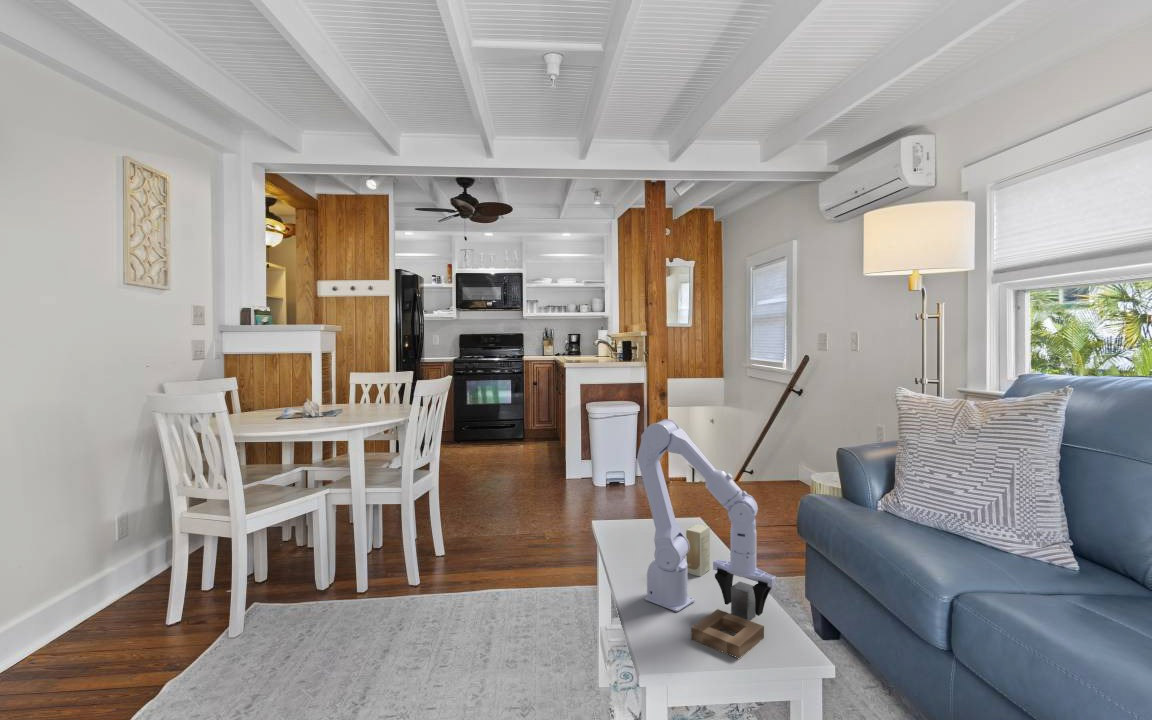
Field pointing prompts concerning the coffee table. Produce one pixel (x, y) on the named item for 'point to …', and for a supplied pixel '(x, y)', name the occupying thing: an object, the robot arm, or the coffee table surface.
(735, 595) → the peg
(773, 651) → the coffee table surface
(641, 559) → the coffee table surface
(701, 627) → the socket block
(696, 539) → the skincare box
